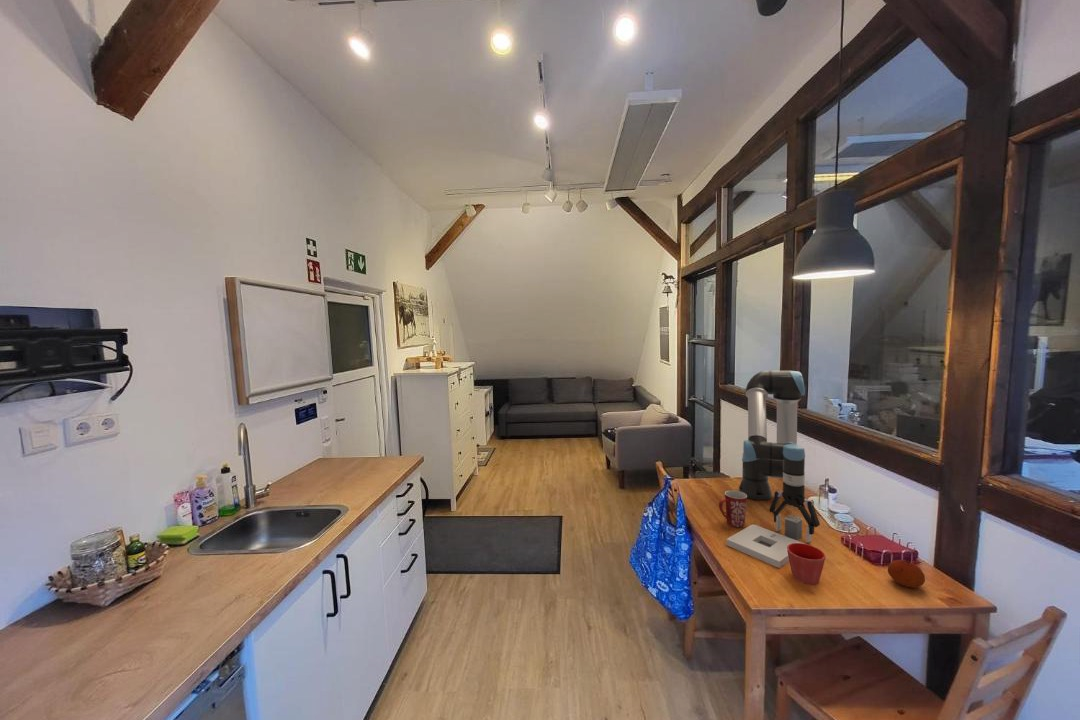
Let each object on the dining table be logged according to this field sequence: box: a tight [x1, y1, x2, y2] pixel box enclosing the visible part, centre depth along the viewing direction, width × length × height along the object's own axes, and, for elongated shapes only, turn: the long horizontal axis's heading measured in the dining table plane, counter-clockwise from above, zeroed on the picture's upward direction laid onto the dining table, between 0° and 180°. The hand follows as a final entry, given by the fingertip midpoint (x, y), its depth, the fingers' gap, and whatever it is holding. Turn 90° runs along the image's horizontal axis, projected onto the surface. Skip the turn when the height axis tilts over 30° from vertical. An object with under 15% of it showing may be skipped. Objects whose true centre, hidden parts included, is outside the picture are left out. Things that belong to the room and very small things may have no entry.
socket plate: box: [726, 523, 806, 569], centre depth 157 cm, size 20×20×3 cm
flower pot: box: [787, 542, 826, 586], centre depth 137 cm, size 11×11×10 cm
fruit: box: [887, 559, 926, 589], centre depth 132 cm, size 9×9×8 cm
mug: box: [718, 489, 748, 528], centre depth 176 cm, size 13×9×14 cm
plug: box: [784, 513, 803, 541], centre depth 164 cm, size 5×5×8 cm
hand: (793, 535), depth 164 cm, fingers open, 11 cm apart
